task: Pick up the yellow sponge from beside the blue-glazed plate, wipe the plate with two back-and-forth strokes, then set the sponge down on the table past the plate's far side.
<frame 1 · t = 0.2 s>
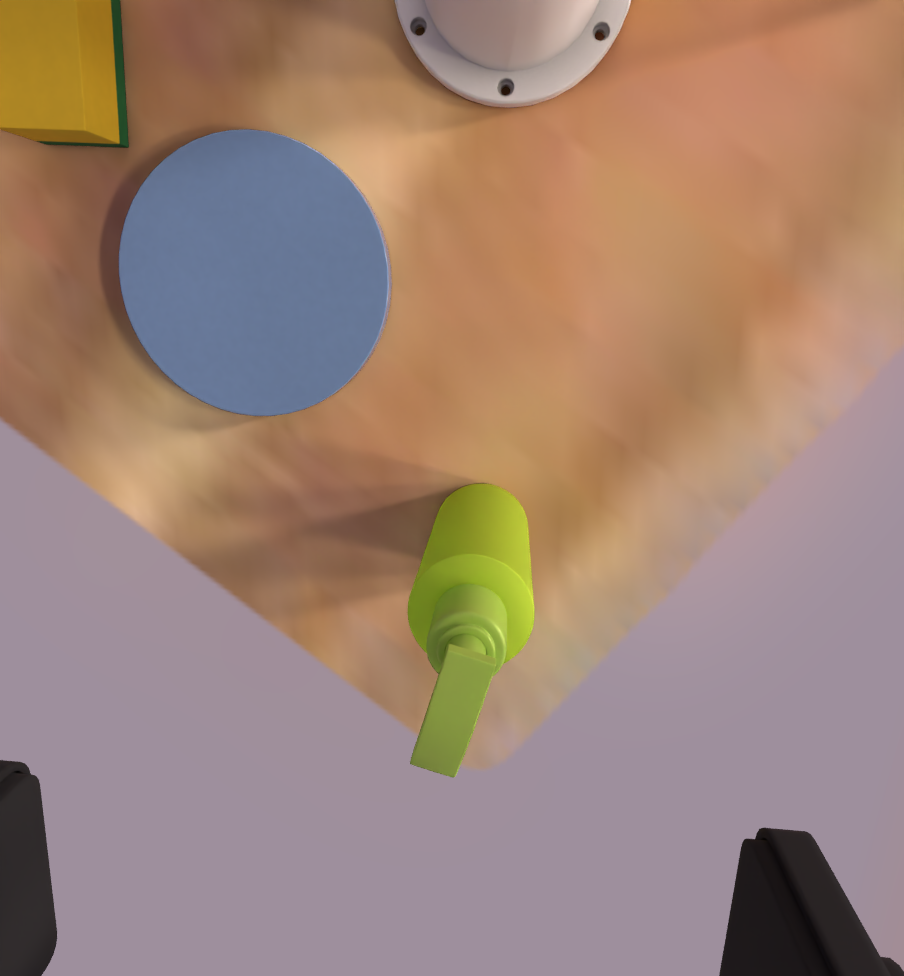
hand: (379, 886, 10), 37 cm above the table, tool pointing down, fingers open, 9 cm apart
plate: (258, 279, 44), on the table
sponge: (81, 69, 42), on the table
soap dispenser: (479, 534, 47), on the table
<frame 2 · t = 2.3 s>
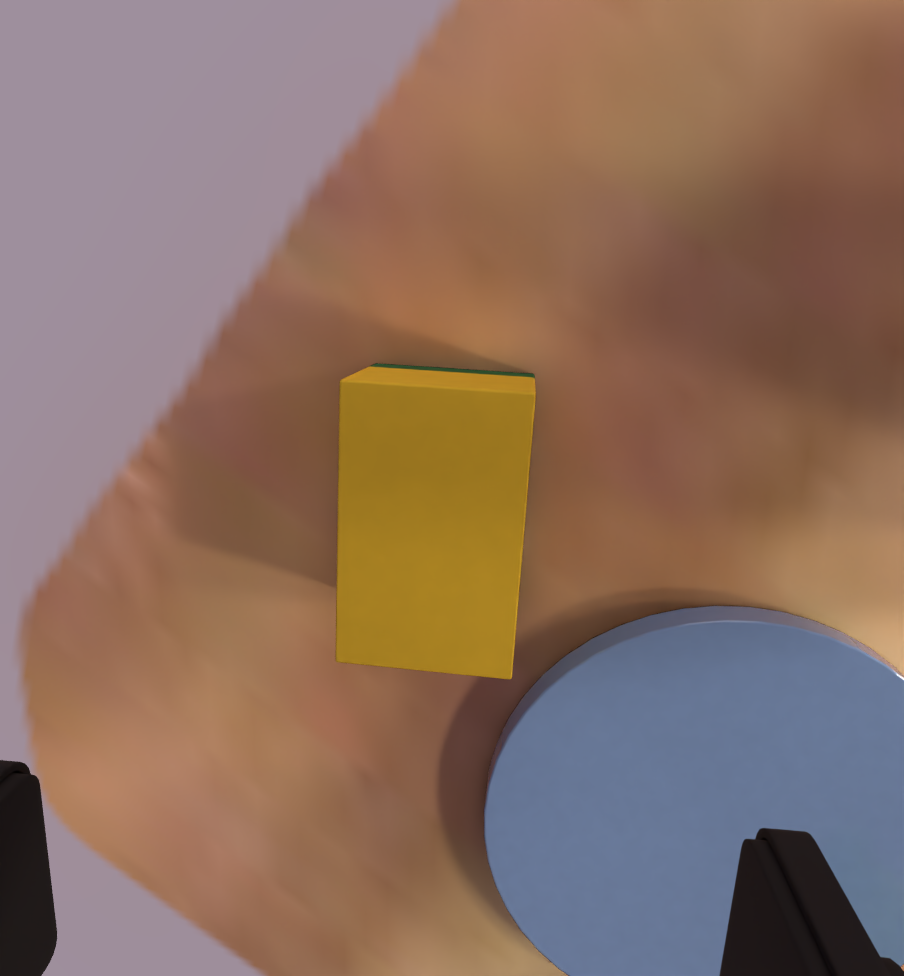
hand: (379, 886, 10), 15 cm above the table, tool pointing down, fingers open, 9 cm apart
plate: (712, 815, 26), on the table
sponge: (447, 492, 24), on the table
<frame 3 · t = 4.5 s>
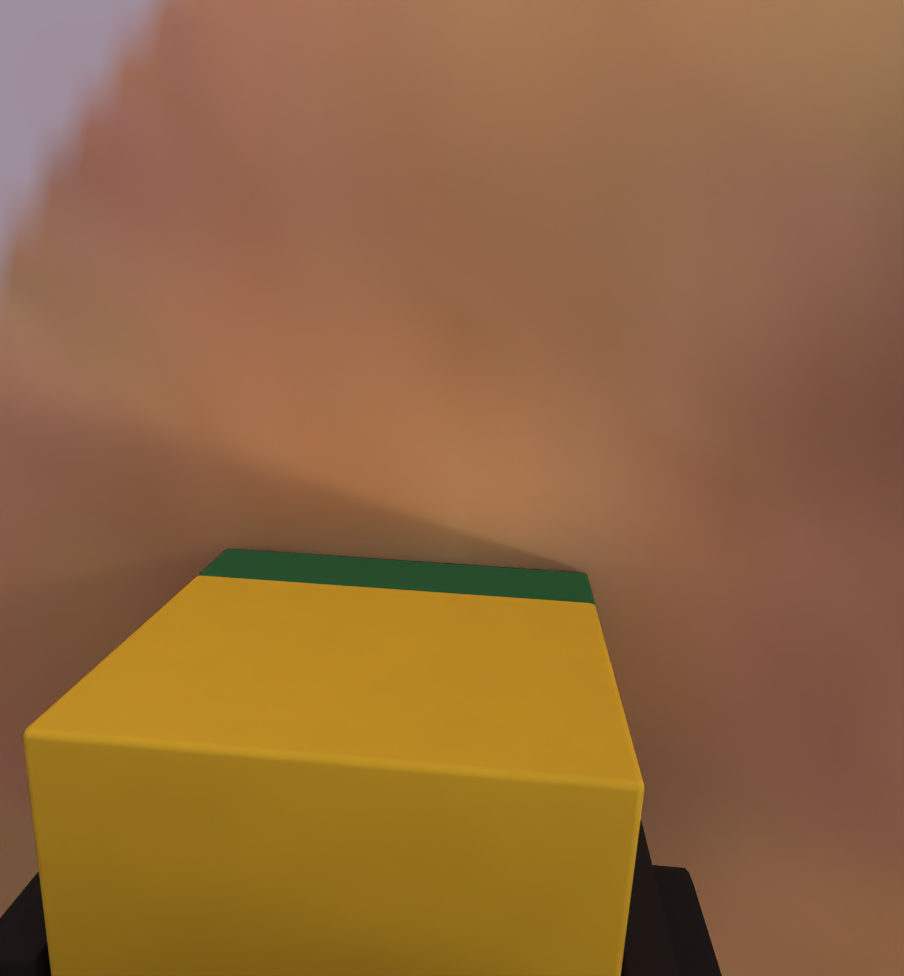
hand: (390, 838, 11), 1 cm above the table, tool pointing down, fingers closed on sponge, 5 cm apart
sponge: (397, 808, 11), on the table, touching gripper
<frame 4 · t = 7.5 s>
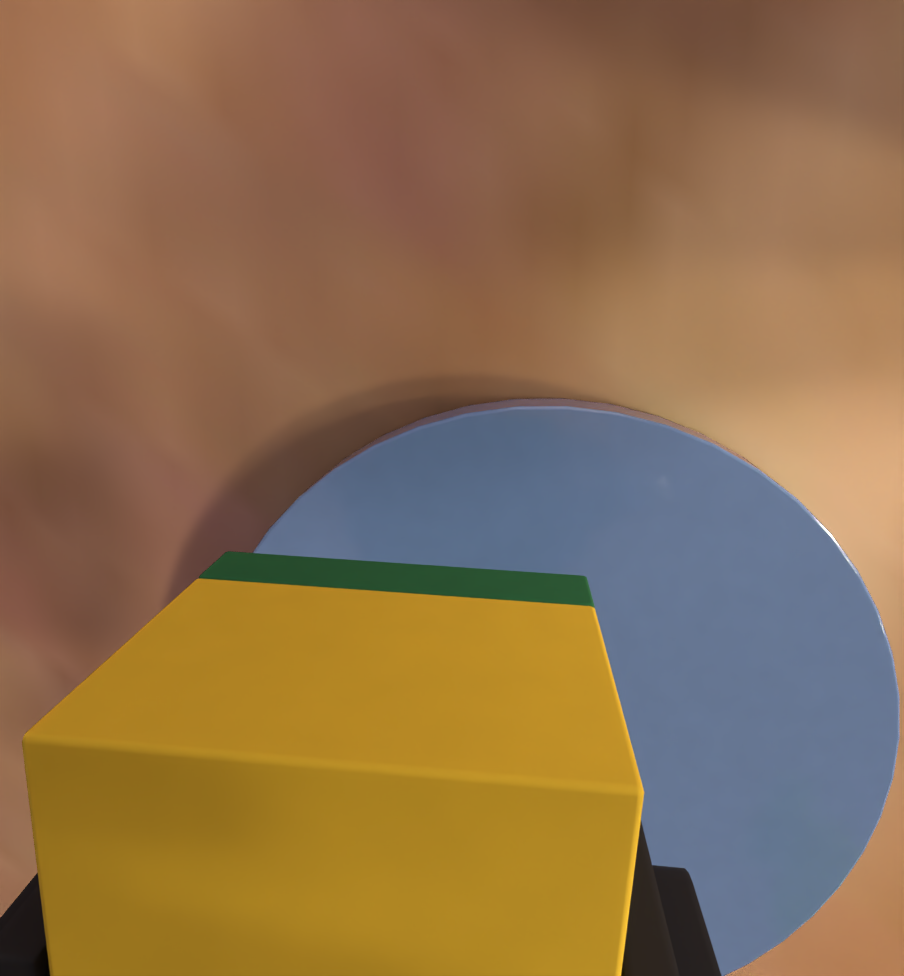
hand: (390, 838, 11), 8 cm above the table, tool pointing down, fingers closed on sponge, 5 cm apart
plate: (537, 717, 18), on the table
sponge: (396, 810, 11), point 7 cm above the table, touching gripper
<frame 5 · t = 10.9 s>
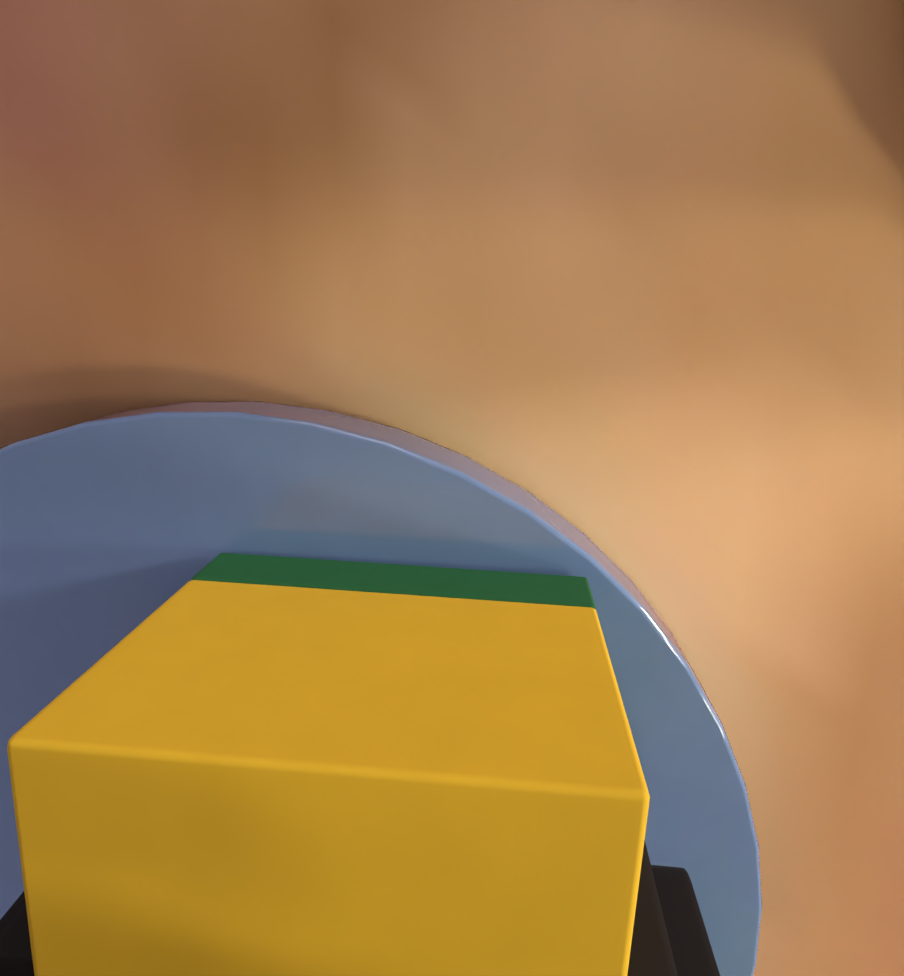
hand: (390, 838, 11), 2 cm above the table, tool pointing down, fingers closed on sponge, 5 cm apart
plate: (265, 861, 13), on the table
sponge: (394, 817, 11), point 1 cm above the table, touching gripper
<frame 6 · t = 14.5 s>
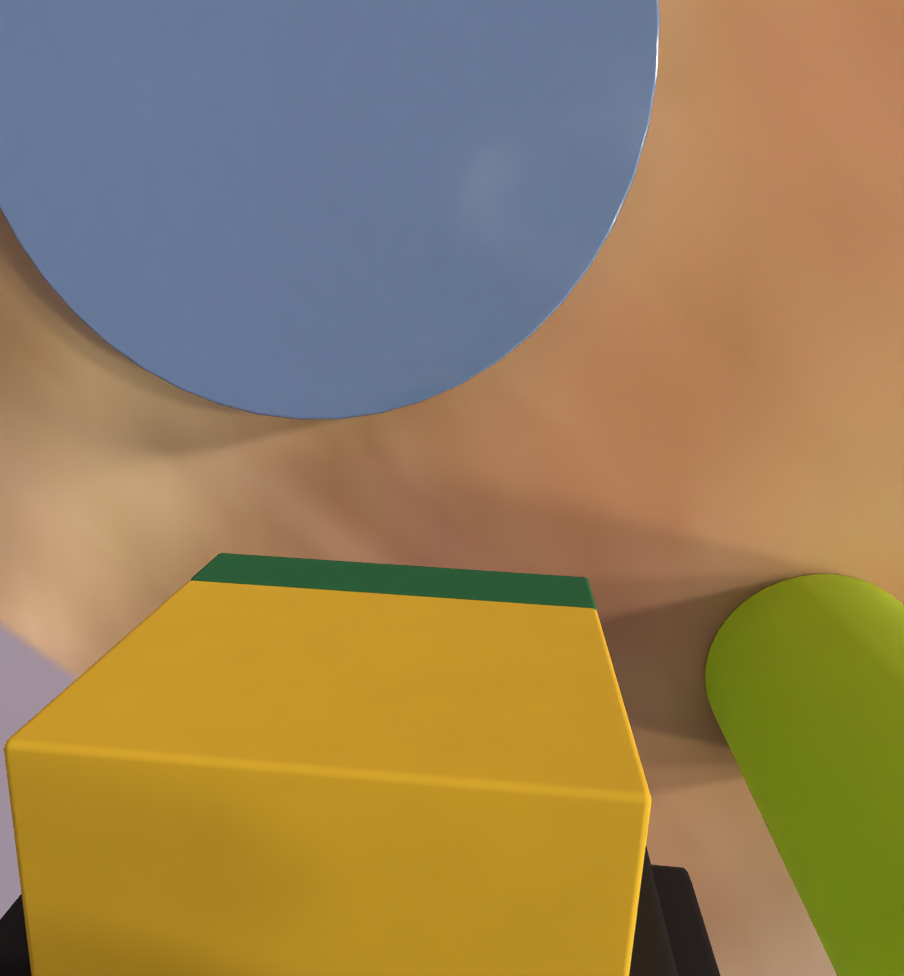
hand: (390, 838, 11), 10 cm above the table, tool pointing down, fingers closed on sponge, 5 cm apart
plate: (308, 80, 18), on the table
sponge: (394, 818, 11), point 10 cm above the table, touching gripper
soap dispenser: (802, 684, 21), on the table
when the fingers open (0 cm above the table, at t = 17.2 s): sponge stays where it is, on the table.
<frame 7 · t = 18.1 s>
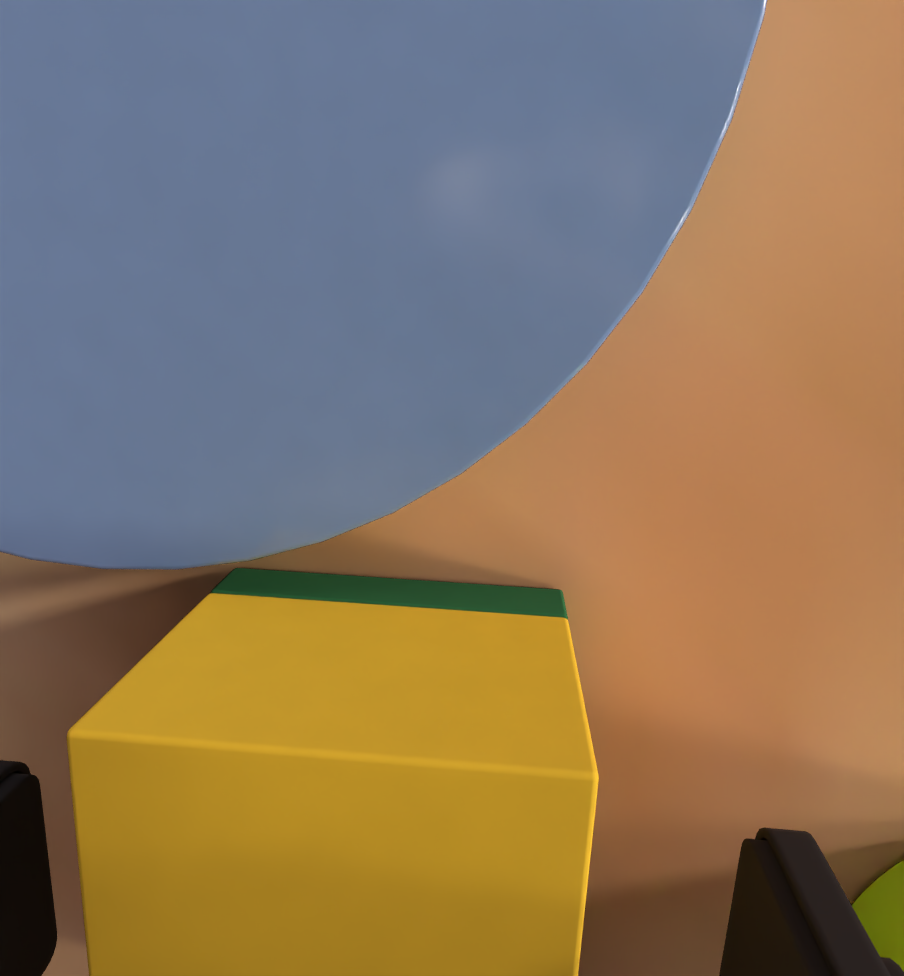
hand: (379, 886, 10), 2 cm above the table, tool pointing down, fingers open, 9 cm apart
sponge: (390, 805, 12), on the table
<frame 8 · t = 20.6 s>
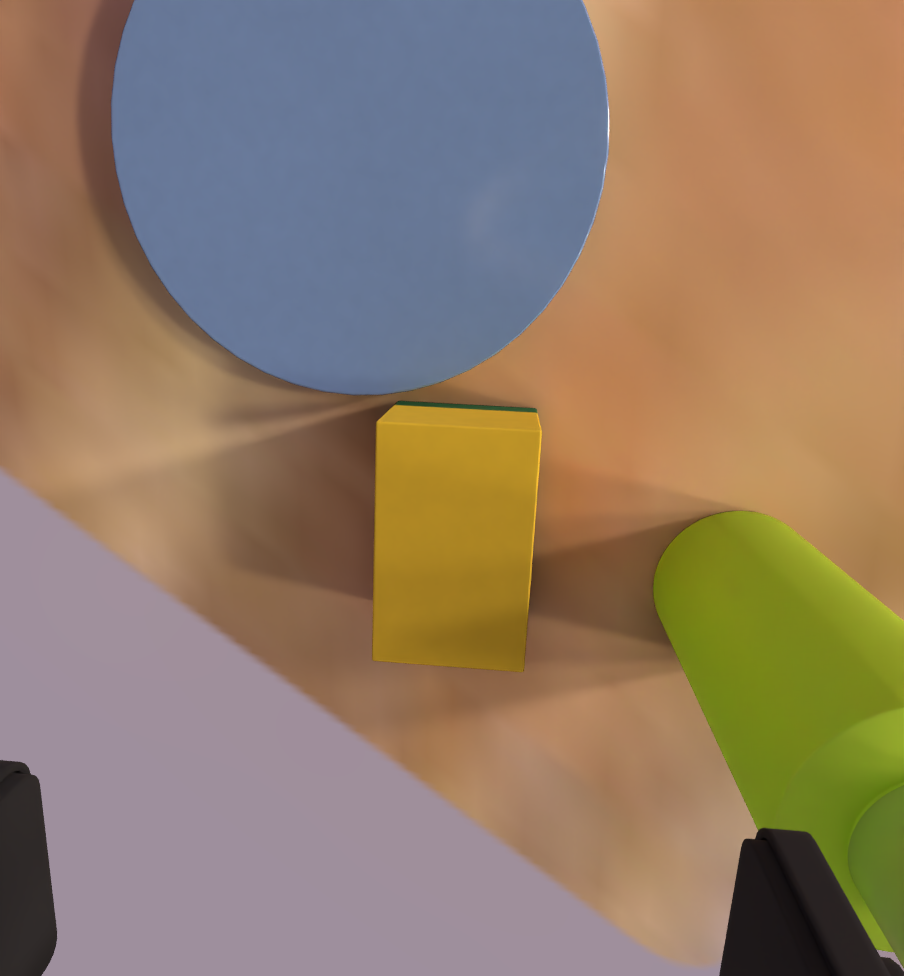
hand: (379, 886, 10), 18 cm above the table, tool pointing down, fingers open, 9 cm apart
plate: (361, 151, 24), on the table
sponge: (461, 511, 27), on the table
soap dispenser: (726, 596, 28), on the table
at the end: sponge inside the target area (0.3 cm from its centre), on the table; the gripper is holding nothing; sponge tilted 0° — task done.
